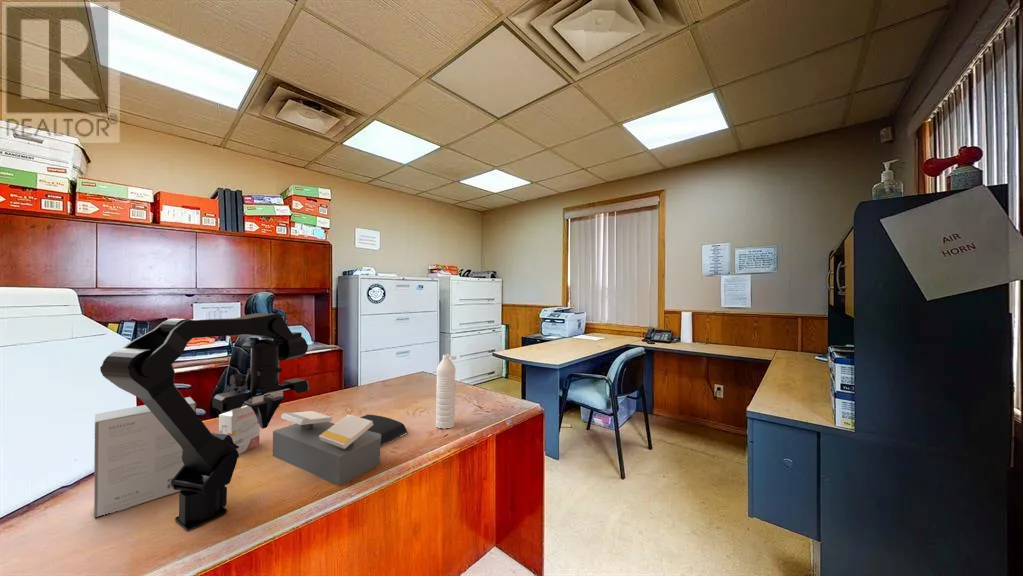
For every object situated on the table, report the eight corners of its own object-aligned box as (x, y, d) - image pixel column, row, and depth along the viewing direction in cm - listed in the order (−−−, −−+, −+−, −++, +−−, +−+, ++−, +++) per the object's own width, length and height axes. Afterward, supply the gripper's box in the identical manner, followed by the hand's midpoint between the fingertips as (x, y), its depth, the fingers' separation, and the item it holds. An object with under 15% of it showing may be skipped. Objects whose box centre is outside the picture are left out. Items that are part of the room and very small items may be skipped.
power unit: (339, 486, 81) (339, 448, 82) (272, 455, 96) (273, 423, 96) (380, 464, 92) (380, 430, 92) (314, 439, 106) (315, 411, 107)
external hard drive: (377, 449, 101) (377, 436, 101) (335, 436, 110) (336, 423, 110) (409, 434, 113) (409, 421, 113) (369, 422, 122) (369, 411, 122)
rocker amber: (344, 448, 84) (342, 444, 83) (320, 439, 89) (318, 435, 88) (373, 424, 91) (372, 420, 91) (349, 417, 96) (348, 413, 96)
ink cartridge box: (246, 443, 104) (247, 394, 104) (259, 444, 103) (261, 395, 103) (217, 456, 95) (218, 403, 96) (231, 458, 94) (232, 405, 95)
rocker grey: (300, 425, 92) (302, 419, 92) (280, 418, 97) (282, 412, 97) (331, 421, 100) (332, 416, 100) (311, 415, 105) (312, 410, 105)
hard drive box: (190, 475, 85) (192, 396, 86) (196, 487, 81) (198, 402, 81) (92, 505, 73) (95, 412, 74) (92, 520, 69) (94, 421, 69)
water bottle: (432, 425, 119) (433, 354, 119) (448, 421, 123) (449, 352, 124) (445, 433, 112) (446, 358, 113) (461, 428, 117) (462, 355, 117)
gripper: (287, 355, 96) (286, 410, 95) (202, 367, 79) (200, 434, 79) (310, 359, 90) (309, 418, 90) (224, 373, 74) (222, 445, 74)
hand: (263, 427), depth 83 cm, fingers closed
